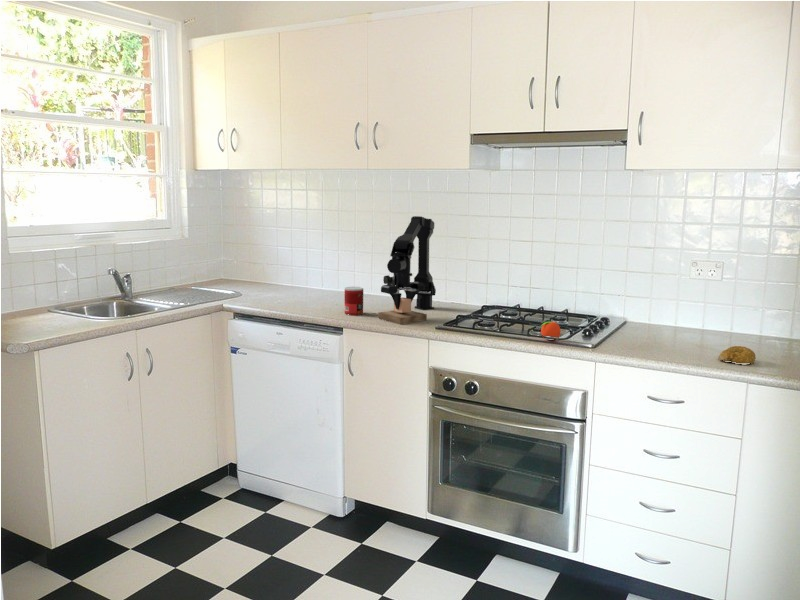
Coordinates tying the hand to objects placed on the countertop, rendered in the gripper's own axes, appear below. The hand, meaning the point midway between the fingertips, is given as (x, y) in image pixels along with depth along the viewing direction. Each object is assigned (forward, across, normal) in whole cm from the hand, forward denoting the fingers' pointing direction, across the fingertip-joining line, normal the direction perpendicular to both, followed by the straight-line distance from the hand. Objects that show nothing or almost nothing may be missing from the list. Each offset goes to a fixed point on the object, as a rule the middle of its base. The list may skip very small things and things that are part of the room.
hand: (402, 308), depth 272 cm
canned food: (+5, +9, -21) cm, 23 cm away
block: (+1, 0, 0) cm, 1 cm away
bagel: (+5, -45, +114) cm, 122 cm away
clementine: (+5, -19, +59) cm, 62 cm away
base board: (+4, 0, 0) cm, 4 cm away
